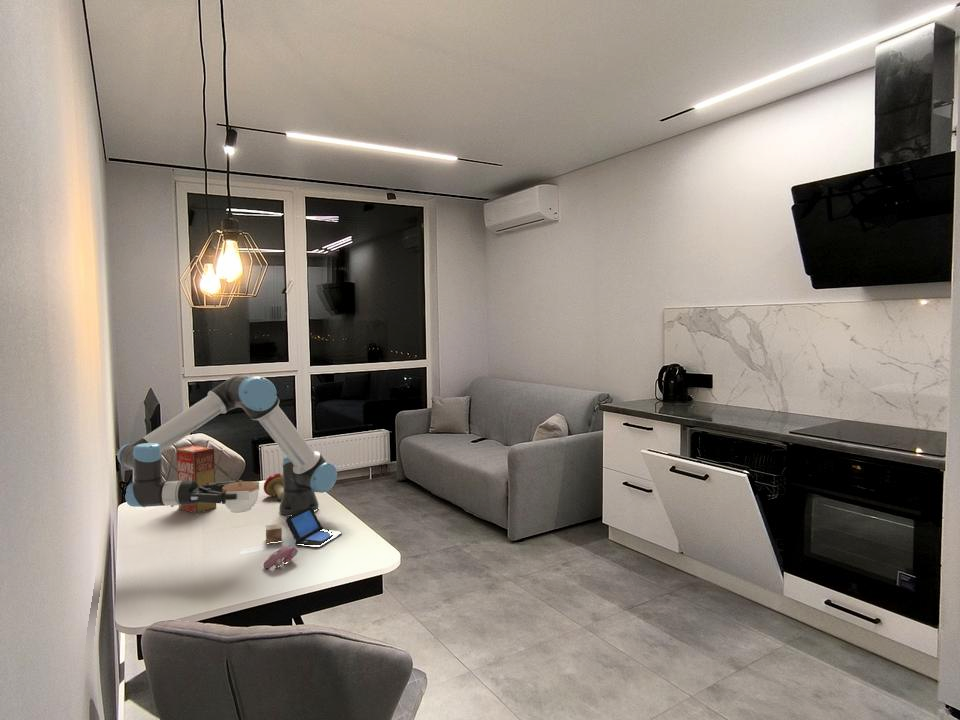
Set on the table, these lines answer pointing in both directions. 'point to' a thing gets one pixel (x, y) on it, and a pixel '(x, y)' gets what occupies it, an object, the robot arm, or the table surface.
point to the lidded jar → (242, 504)
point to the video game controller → (280, 557)
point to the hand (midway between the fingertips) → (253, 490)
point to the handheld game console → (307, 528)
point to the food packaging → (196, 472)
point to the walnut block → (273, 533)
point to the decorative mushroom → (274, 485)
